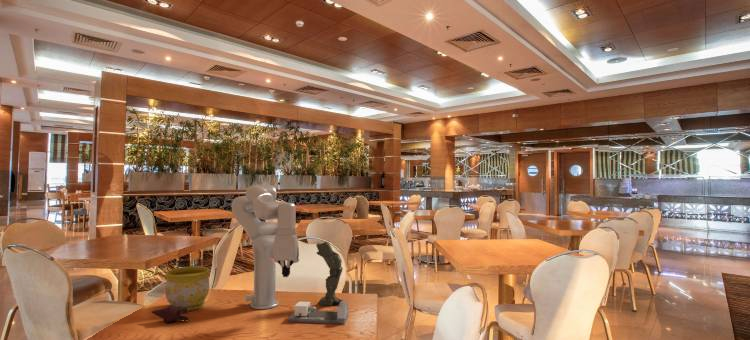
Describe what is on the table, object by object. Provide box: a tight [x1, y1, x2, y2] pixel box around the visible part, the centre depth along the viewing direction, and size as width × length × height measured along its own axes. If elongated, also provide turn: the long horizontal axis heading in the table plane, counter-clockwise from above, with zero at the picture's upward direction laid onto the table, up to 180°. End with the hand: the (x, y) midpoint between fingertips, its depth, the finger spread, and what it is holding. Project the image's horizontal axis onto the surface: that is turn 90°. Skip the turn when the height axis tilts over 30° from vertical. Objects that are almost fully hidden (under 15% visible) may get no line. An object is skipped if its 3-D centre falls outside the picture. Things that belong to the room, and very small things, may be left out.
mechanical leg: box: [315, 240, 344, 307], centre depth 180 cm, size 14×7×30 cm, turn 84°
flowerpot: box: [164, 265, 211, 311], centre depth 173 cm, size 18×18×16 cm
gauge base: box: [287, 300, 350, 325], centre depth 160 cm, size 23×10×6 cm, turn 84°
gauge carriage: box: [294, 301, 317, 316], centre depth 160 cm, size 8×8×4 cm
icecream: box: [151, 304, 189, 323], centre depth 155 cm, size 7×7×15 cm
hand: (286, 276), depth 162 cm, fingers closed
